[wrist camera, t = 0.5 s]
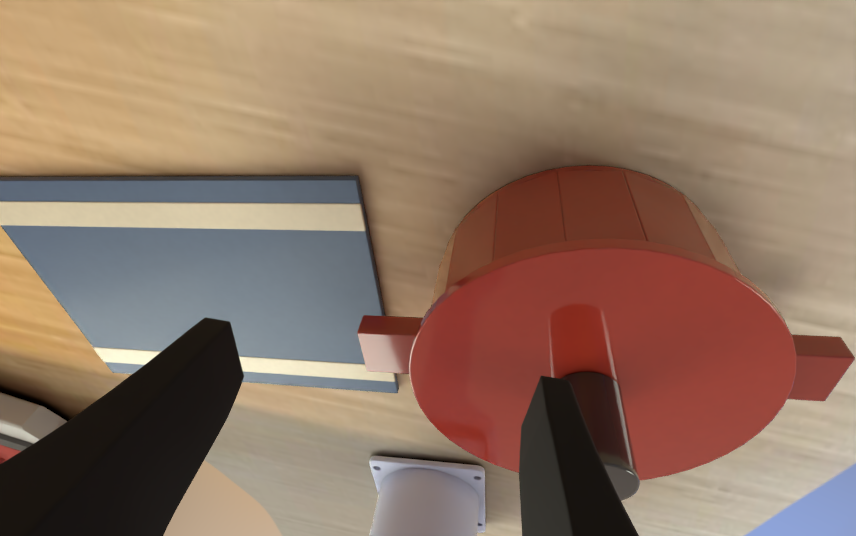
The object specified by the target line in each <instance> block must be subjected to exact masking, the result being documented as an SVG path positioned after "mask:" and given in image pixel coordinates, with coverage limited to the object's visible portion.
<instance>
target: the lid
mask: <svg viewBox="0 0 856 536" xmlns="http://www.w3.org/2000/svg"><path fill="white" fill-rule="evenodd" d="M796 357H797V355H796V350H795V346H794V341H793V337H792V335H791V333H790V331H789V329H788V327H787V325H786V323H785V321H784V319H783V317H782V315H781V314H780V312H779V310H778V309H777V308H776V307H775V305H774V304H773V303H772V302H771V300H770V299H769V298H768V296H767V295H766V294H765V293H764V292H763V291H762V290H760V289H759V288H758V287H757V286H756V285H755V284H754V283H752V282H751V281H750V280H749V279H748V278H746V277H744V276H743V275H741V274H740V273H738V272H736V271H735V270H733V269H732V268H730V267H728V266H727V265H725V264H722V263H720V262H718V261H716V260H713V259H711V258H709V257H707V256H704V255H702V254H699V253H696V252H693V251H689V250H686V249H683V248H679V247H676V246H672V245H667V244H661V243H656V242H650V241H644V240H632V239H618V238H599V239H578V240H570V241H563V242H556V243H549V244H545V245H541V246H537V247H533V248H529V249H525V250H521V251H518V252H516V253H513V254H510V255H507V256H504V257H502V258H499V259H496V260H494V261H492V262H490V263H488V264H486V265H484V266H482V267H480V268H478V269H476V270H474V271H473V272H471V273H470V274H468V275H467V276H465V277H464V278H462V279H461V280H459V281H458V282H456V283H455V284H454V285H452V286H451V287H450V288H449V289H448V290H447V291H446V292H444V293H443V294H442V295H441V296H440V297H439V298H438V299H437V300H436V302H435V303H434V304H433V305H432V306H431V308H430V309H429V310H428V311H427V312H426V314H425V316H424V318H423V319H422V321H421V323H420V325H419V326H418V329H417V332H416V334H415V337H414V340H413V344H412V348H411V354H410V361H409V373H410V382H411V385H412V389H413V393H414V395H415V398H416V400H417V402H418V404H419V406H420V408H421V409H422V411H423V412H424V414H425V415H426V417H427V418H428V419H429V420H430V422H431V423H432V424H433V425H434V426H435V427H436V428H437V429H438V430H439V431H440V432H441V433H442V434H444V435H445V436H446V437H447V438H448V439H449V440H451V441H452V442H454V443H455V444H456V445H458V446H459V447H461V448H462V449H464V450H466V451H467V452H469V453H471V454H473V455H475V456H477V457H478V458H481V459H483V460H485V461H487V462H490V463H492V464H494V465H497V466H500V467H503V468H505V469H508V470H511V471H515V472H518V473H519V461H520V441H521V426H522V423H523V421H524V418H525V416H526V413H527V410H528V408H529V405H530V403H531V400H532V397H533V395H534V392H535V390H536V387H537V384H538V382H539V379H540V377H541V376H547V377H553V378H559V379H565V380H569V382H570V383H571V384H572V387H573V389H574V392H575V395H576V398H577V401H578V404H579V406H580V409H581V412H582V414H583V417H584V419H585V422H586V425H587V427H588V429H589V432H590V434H591V437H592V439H593V442H594V444H595V446H596V449H597V451H598V453H599V456H600V458H601V460H602V462H603V464H604V466H605V469H606V471H607V473H608V475H609V477H610V480H611V482H612V484H613V486H614V488H615V490H616V492H617V494H618V496H619V498H620V500H621V501H622V500H624V499H627V498H629V497H631V496H632V495H634V494H635V493H636V492H637V490H638V488H639V485H640V481H639V480H647V479H652V478H657V477H663V476H668V475H672V474H675V473H679V472H683V471H686V470H690V469H692V468H695V467H698V466H701V465H704V464H706V463H709V462H711V461H713V460H715V459H718V458H720V457H722V456H724V455H726V454H728V453H730V452H732V451H733V450H735V449H737V448H738V447H740V446H742V445H744V444H745V443H746V442H748V441H749V440H750V439H752V438H753V437H754V436H756V435H757V434H758V433H760V432H761V431H762V430H763V429H764V428H765V427H766V426H767V425H768V424H769V423H770V422H771V421H772V420H773V419H774V418H775V416H776V415H777V414H778V412H779V411H780V410H781V408H782V407H783V406H784V404H785V402H786V400H787V398H788V396H789V394H790V392H791V390H792V387H793V383H794V379H795V375H796Z"/></svg>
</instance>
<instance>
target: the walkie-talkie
mask: <svg viewBox="0 0 856 536" xmlns="http://www.w3.org/2000/svg"><path fill="white" fill-rule="evenodd" d="M66 422H67V421H66V420H64V419H63V418H61V417H60V416H58V415H56V414H55V413H53V412H52V411H50V410H48V409H47V408H45V407H43V406H40V405H37V404H34V403H31V402H28V401H25V400H22V399H19V398H16V397H13V396H10V395H7V394H4V393H1V392H0V464H1V463H3V462H5V461H6V460H8V459H10V458H11V457H13V456H15V455H16V454H18V453H20V452H21V451H23V450H24V449H26V448H28V447H29V446H31V445H32V444H34V443H36V442H37V441H39V440H40V439H42V438H43V437H45V436H46V435H48V434H49V433H51V432H52V431H54V430H55V429H57V428H58V427H60V426H61V425H63V424H64V423H66Z"/></svg>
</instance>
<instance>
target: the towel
mask: <svg viewBox="0 0 856 536" xmlns="http://www.w3.org/2000/svg"><path fill="white" fill-rule="evenodd" d="M0 225H1V227H2V228H3V229H4V231H5V232H6V233H7V235H8V236H9V237H10V238H11V240H12V241H13V242H14V244H15V245H16V246H17V248H18V249H19V250H20V252H21V253H22V254H23V256H24V257H25V258H26V259H27V261H28V262H29V263H30V265H31V266H32V267H33V269H34V270H35V271H36V273H37V274H38V275H39V277H40V278H41V279H42V280H43V282H44V283H45V284H46V286H47V287H48V288H49V290H50V291H51V292H52V294H53V295H54V296H55V298H56V299H57V300H58V302H59V303H60V304H61V305H62V307H63V308H64V309H65V311H66V312H67V313H68V315H69V316H70V317H71V319H72V320H73V321H74V323H75V324H76V325H77V326H78V328H79V329H80V330H81V332H82V333H83V334H84V336H85V337H86V338H87V340H88V341H89V342H90V344H91V345H92V346H93V348H94V350H95V351H96V352H97V354H98V355H99V356H100V358H101V359H102V360H103V362H105V363H106V365H107V366H108V367H109V369H110V370H111V371H112V372H113V373H126V374H133V373H135V372H136V371H137V370H139V369H140V368H141V367H143V366H144V365H145V364H146V363H148V362H149V361H150V360H152V359H153V358H154V357H155V356H157V355H158V354H159V353H160V352H162V351H163V350H164V349H165V348H167V347H168V346H169V345H170V344H172V343H173V342H174V341H175V340H177V339H178V338H179V337H180V336H182V335H183V334H184V333H185V332H187V331H188V330H189V329H190V328H192V327H193V326H194V325H196V324H197V323H198V322H199V321H201V320H202V319H203V318H205V317H206V318H212V319H218V320H224V321H229V322H230V323H231V327H232V331H233V334H234V338H235V342H236V346H237V350H238V354H239V358H240V362H241V366H242V370H243V374H244V378H243V381H242V382H250V383H263V384H277V385H291V386H305V387H318V388H332V389H346V390H360V391H373V392H387V393H398V389H399V387H398V382H397V376H396V373H385V372H370V371H367V370H366V366H365V362H364V358H363V354H362V350H361V346H360V342H359V338H358V334H357V331H358V328H359V326H360V323H361V320H362V317H363V315H374V316H385V314H384V308H383V303H382V298H381V293H380V287H379V282H378V277H377V272H376V266H375V261H374V256H373V251H372V245H371V240H370V235H369V230H368V225H367V219H366V214H365V209H364V204H363V198H362V193H361V188H360V183H359V177H358V176H120V177H0Z"/></svg>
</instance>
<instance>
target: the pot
mask: <svg viewBox="0 0 856 536" xmlns="http://www.w3.org/2000/svg"><path fill="white" fill-rule="evenodd" d="M599 238H618V239H632V240H644V241H650V242H656V243H661V244H667V245H672V246H676V247H679V248H683V249H686V250H689V251H693V252H696V253H699V254H702V255H704V256H707V257H709V258H711V259H713V260H716V261H718V262H720V263H722V264H725V265H727V266H728V267H730V268H732V269H733V270H735V271H736V272H738V273H740V271H739V270H738V268H737V266H736V264H735V262H734V261H733V259H732V257H731V255H730V253H729V252H728V250H727V248H726V246H725V244H724V243H723V241H722V239H721V237H720V235H719V234H718V232H717V230H716V229H715V228H714V227H713V225H712V224H711V223H710V222H709V221H708V220H707V219H706V217H705V216H704V215H703V214H702V212H701V211H700V210H699V209H698V207H697V206H696V205H695V204H694V203H693V202H692V201H690V200H689V199H688V198H687V197H686V196H685V195H684V194H682V193H681V192H679V191H678V190H676V189H675V188H673V187H672V186H670V185H668V184H666V183H664V182H662V181H660V180H658V179H656V178H653V177H651V176H648V175H645V174H642V173H639V172H635V171H632V170H627V169H622V168H616V167H610V166H592V165H586V166H570V167H562V168H557V169H551V170H546V171H542V172H539V173H536V174H532V175H529V176H526V177H523V178H521V179H519V180H516V181H514V182H512V183H509V184H507V185H506V186H504V187H502V188H500V189H499V190H497V191H495V192H493V193H492V194H490V195H489V196H488V197H486V198H485V199H484V200H482V201H481V202H480V203H478V204H477V205H476V206H475V207H474V208H473V209H472V210H471V211H470V212H469V213H468V214H467V215H466V216H465V217H464V219H463V220H462V221H461V223H460V224H459V225H458V227H457V228H456V229H455V231H454V233H453V235H452V237H451V238H450V240H449V242H448V245H447V248H446V251H445V254H444V257H443V259H442V261H441V263H440V266H439V271H438V276H437V281H436V285H435V290H434V295H433V300H432V305H433V304H434V303H435V302H436V300H437V299H438V298H439V297H440V296H441V295H442V294H443V293H444V292H446V291H447V290H448V289H449V288H450V287H451V286H452V285H454V284H455V283H456V282H458V281H459V280H461V279H462V278H464V277H465V276H467V275H468V274H470V273H471V272H473V271H474V270H476V269H478V268H480V267H482V266H484V265H486V264H488V263H490V262H492V261H494V260H496V259H499V258H502V257H504V256H507V255H510V254H513V253H516V252H518V251H521V250H525V249H529V248H533V247H537V246H541V245H545V244H549V243H556V242H563V241H570V240H578V239H599ZM740 274H741V273H740ZM432 305H431V306H432ZM422 319H423V318H417V317H395V316H374V315H363V317H362V320H361V323H360V326H359V328H358V331H357V334H358V338H359V342H360V346H361V350H362V354H363V358H364V362H365V366H366V370H367V371H370V372H385V373H400V374H410V373H409V361H410V354H411V348H412V344H413V340H414V337H415V334H416V332H417V329H418V326H419V325H420V323H421V321H422ZM792 337H793V341H794V346H795V350H796V355H797V357H796V375H795V379H794V383H793V387H792V390H791V392H790V394H789V396H788V398H787V399H795V400H810V401H825V400H826V399H827V397H828V396H829V394H830V393H831V392H832V390H833V389H834V387H835V386H836V385H837V383H838V382H839V380H840V379H841V378H842V376H843V375H844V373H845V372H846V371H847V369H848V368H849V366H850V365H851V364H852V362H853V361H854V359H855V357H854V356H853V354H852V353H851V351H850V350H849V348H848V347H847V346H846V344H845V343H844V341H843V340H842V338H841V337H832V336H810V335H792Z"/></svg>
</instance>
